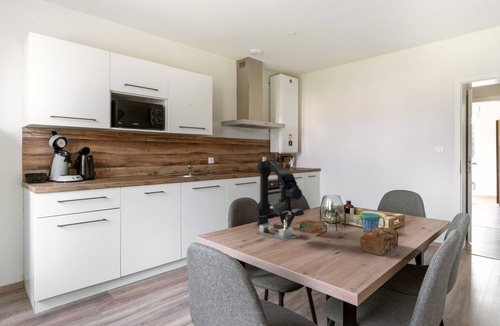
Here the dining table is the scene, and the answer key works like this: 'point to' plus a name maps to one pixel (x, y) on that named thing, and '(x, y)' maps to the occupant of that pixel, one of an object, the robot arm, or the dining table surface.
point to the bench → (275, 235)
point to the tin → (313, 227)
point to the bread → (379, 240)
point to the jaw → (285, 230)
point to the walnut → (271, 230)
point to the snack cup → (370, 220)
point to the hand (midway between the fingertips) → (286, 226)
